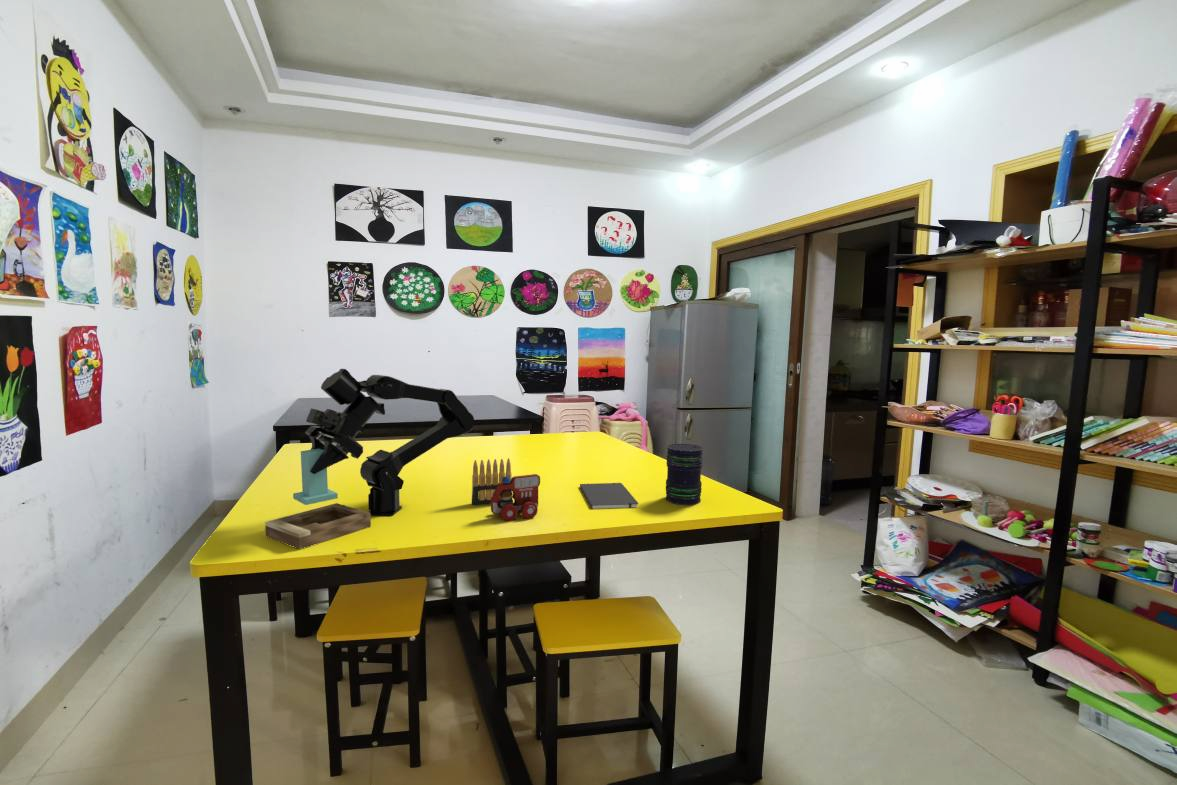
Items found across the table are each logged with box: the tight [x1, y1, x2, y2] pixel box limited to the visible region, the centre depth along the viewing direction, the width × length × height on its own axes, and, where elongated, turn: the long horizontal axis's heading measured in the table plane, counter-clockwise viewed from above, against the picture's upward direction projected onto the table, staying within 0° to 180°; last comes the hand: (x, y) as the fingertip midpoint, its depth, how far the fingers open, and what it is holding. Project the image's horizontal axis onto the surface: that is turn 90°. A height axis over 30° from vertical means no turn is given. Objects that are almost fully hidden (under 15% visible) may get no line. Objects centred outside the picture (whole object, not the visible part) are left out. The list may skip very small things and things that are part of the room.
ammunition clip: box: [471, 458, 513, 506], centre depth 148 cm, size 11×2×12 cm, turn 109°
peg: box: [292, 449, 338, 506], centre depth 126 cm, size 7×7×11 cm
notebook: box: [579, 482, 639, 510], centre depth 157 cm, size 13×2×21 cm
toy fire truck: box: [490, 473, 541, 522], centre depth 138 cm, size 7×12×10 cm, turn 113°
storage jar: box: [665, 443, 704, 506], centre depth 154 cm, size 10×10×15 cm
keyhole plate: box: [264, 502, 372, 550], centre depth 125 cm, size 17×13×3 cm
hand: (308, 471), depth 125 cm, fingers closed on peg, 4 cm apart
